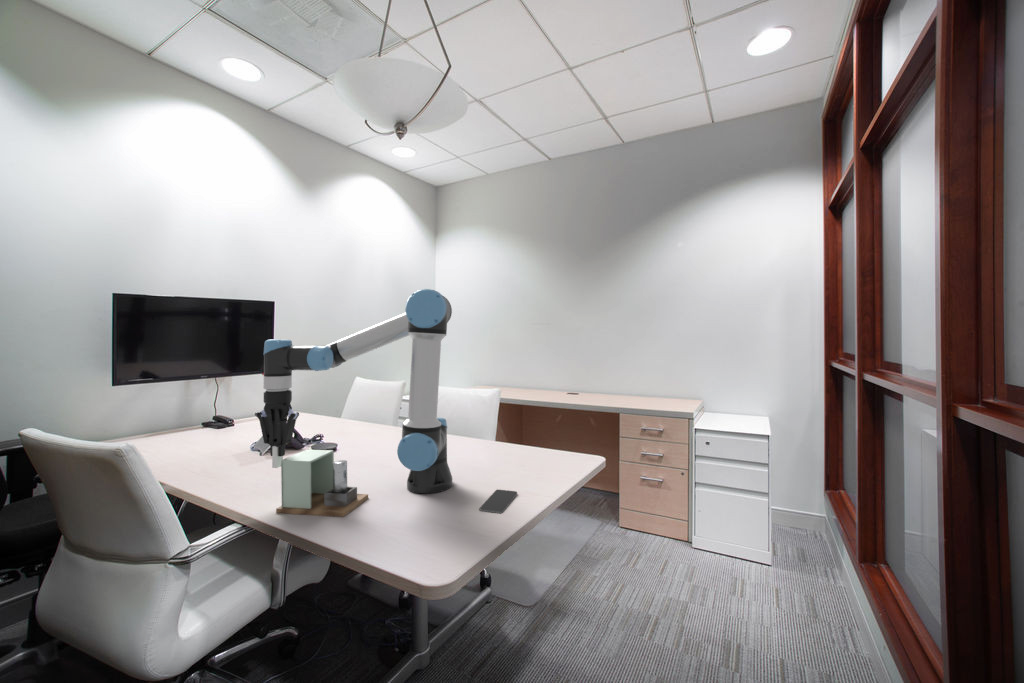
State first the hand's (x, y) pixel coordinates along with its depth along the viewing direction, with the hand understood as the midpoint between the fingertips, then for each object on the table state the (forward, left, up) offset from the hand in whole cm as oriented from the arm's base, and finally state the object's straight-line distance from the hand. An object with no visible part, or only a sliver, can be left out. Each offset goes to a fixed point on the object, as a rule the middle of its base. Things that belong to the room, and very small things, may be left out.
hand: (277, 466), depth 128 cm
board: (-15, 0, -11) cm, 19 cm away
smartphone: (-67, -9, -12) cm, 69 cm away
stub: (-21, 0, -10) cm, 23 cm away
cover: (-10, 0, -10) cm, 14 cm away
